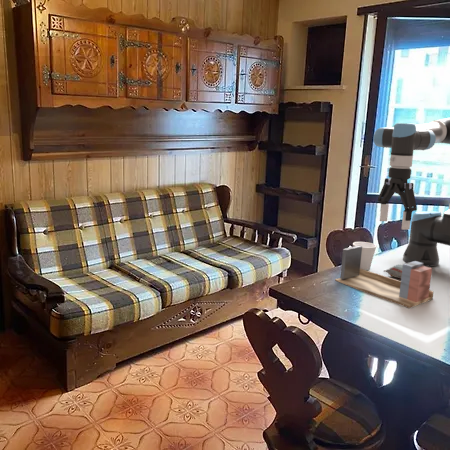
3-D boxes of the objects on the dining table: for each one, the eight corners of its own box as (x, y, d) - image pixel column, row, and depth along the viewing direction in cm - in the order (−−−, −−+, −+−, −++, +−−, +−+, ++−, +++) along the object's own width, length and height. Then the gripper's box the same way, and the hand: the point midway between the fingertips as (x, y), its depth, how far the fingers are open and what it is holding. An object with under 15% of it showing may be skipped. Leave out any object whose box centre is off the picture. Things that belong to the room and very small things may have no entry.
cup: (375, 273, 197) (378, 248, 194) (351, 271, 198) (353, 246, 196) (372, 266, 206) (375, 242, 204) (349, 265, 208) (351, 240, 205)
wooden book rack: (358, 275, 194) (361, 244, 191) (432, 299, 170) (437, 264, 167) (335, 281, 185) (337, 249, 182) (409, 308, 161) (414, 271, 158)
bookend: (355, 274, 191) (358, 245, 188) (359, 275, 190) (362, 246, 187) (340, 278, 185) (343, 249, 182) (343, 279, 184) (346, 250, 181)
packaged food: (408, 284, 184) (410, 273, 183) (382, 275, 193) (384, 263, 192) (420, 281, 189) (422, 269, 188) (395, 272, 198) (396, 261, 197)
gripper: (371, 163, 180) (366, 218, 184) (413, 171, 156) (406, 233, 161) (389, 163, 182) (383, 217, 186) (432, 171, 158) (424, 232, 163)
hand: (393, 225), depth 174 cm, fingers open, 13 cm apart
